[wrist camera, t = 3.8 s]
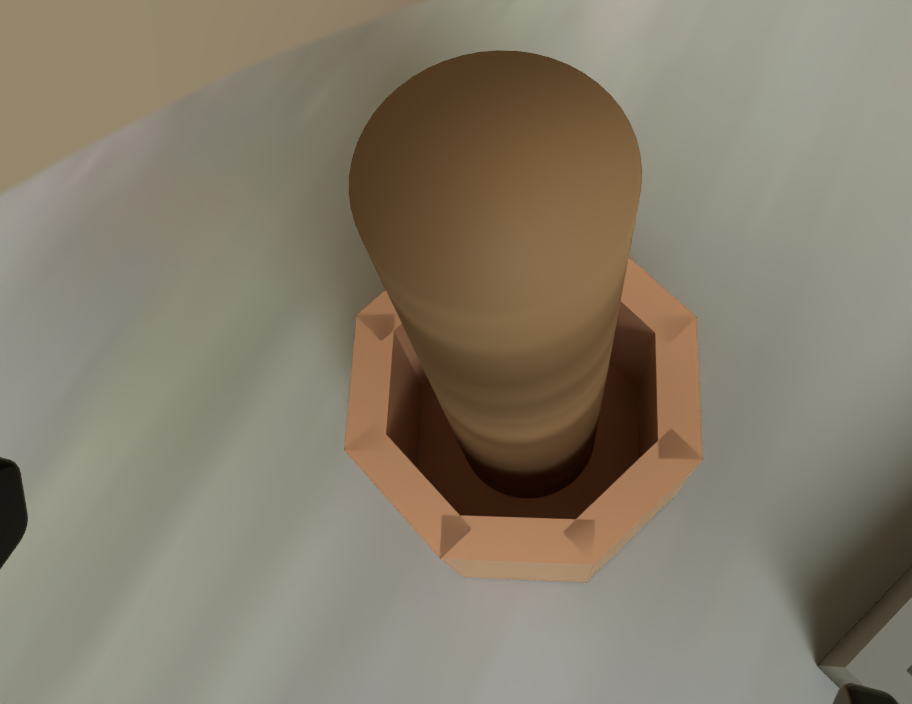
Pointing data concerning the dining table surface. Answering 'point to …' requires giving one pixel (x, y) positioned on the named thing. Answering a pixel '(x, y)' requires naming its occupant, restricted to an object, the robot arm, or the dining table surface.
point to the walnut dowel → (504, 251)
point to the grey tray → (878, 646)
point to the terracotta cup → (554, 516)
